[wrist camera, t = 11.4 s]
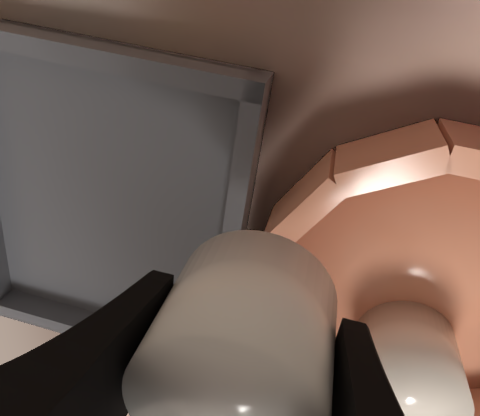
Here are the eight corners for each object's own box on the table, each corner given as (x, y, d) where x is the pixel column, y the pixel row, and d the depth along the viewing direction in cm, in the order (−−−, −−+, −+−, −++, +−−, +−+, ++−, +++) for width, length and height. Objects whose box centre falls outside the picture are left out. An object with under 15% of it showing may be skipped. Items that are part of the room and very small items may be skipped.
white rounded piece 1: (318, 371, 14) (305, 505, 10) (178, 333, 14) (122, 448, 11) (355, 252, 11) (356, 373, 8) (187, 213, 12) (120, 310, 9)
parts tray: (225, 350, 25) (216, 378, 24) (8, 289, 27) (-15, 311, 26) (274, 71, 17) (265, 83, 16) (-38, 11, 19) (-77, 15, 18)
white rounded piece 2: (434, 382, 22) (449, 457, 19) (343, 357, 23) (342, 426, 19) (470, 315, 20) (494, 387, 17) (368, 290, 21) (371, 354, 17)
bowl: (518, 426, 23) (538, 483, 21) (243, 349, 25) (230, 393, 23) (709, 172, 16) (779, 211, 13) (296, 89, 18) (286, 110, 15)
